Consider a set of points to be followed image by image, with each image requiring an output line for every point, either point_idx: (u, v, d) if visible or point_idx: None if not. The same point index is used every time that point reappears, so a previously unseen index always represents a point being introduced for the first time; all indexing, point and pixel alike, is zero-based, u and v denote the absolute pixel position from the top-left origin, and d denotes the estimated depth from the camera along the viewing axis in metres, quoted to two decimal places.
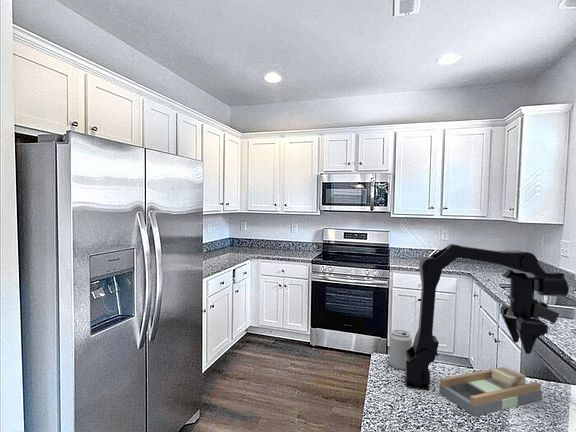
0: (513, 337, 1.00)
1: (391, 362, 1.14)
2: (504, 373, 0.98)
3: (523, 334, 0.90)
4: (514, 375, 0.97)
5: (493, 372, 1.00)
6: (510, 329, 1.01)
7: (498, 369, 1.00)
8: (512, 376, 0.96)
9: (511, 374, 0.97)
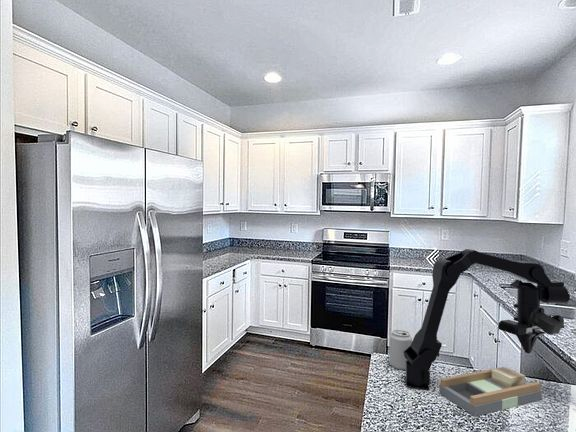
0: None
1: (391, 362, 1.14)
2: (504, 373, 0.98)
3: None
4: (514, 375, 0.97)
5: (493, 372, 1.00)
6: None
7: (498, 369, 1.00)
8: (512, 376, 0.96)
9: (511, 374, 0.97)
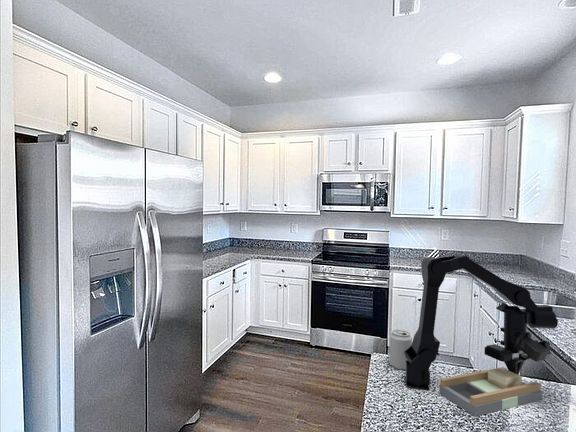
0: None
1: (391, 362, 1.14)
2: (500, 374, 0.97)
3: None
4: (510, 375, 0.96)
5: (489, 373, 0.99)
6: None
7: (495, 370, 1.00)
8: (508, 377, 0.96)
9: (507, 375, 0.96)
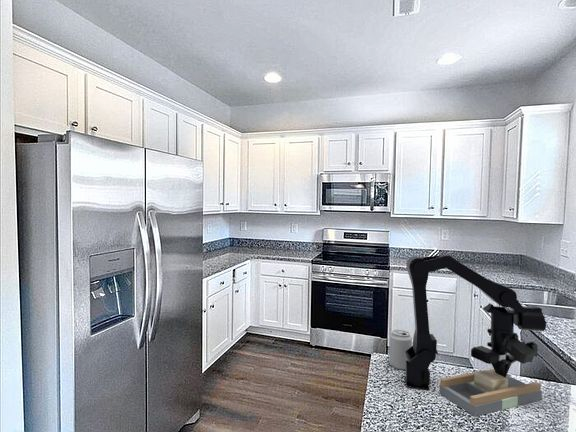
0: (499, 374, 0.98)
1: (391, 362, 1.14)
2: (486, 376, 0.95)
3: None
4: (496, 378, 0.95)
5: (475, 375, 0.98)
6: None
7: (481, 373, 0.98)
8: (494, 379, 0.94)
9: (493, 378, 0.95)
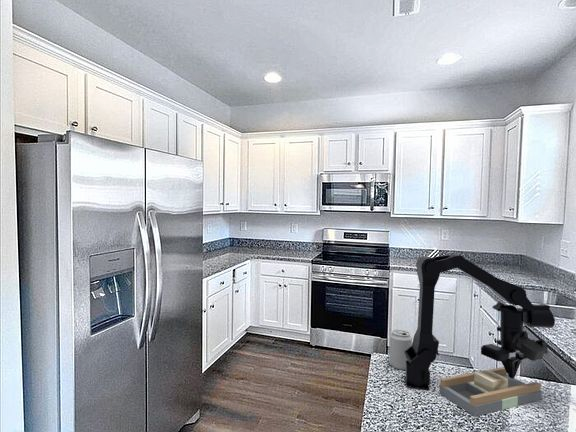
0: None
1: (391, 362, 1.14)
2: (486, 376, 0.95)
3: None
4: (496, 378, 0.95)
5: (475, 375, 0.98)
6: None
7: (481, 373, 0.98)
8: (494, 379, 0.94)
9: (493, 378, 0.95)
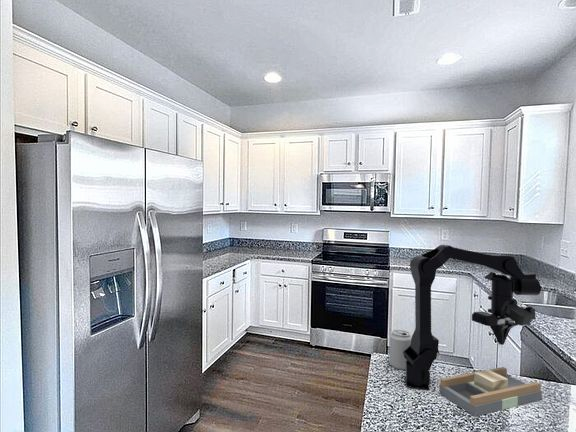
0: None
1: (391, 362, 1.14)
2: (486, 376, 0.95)
3: None
4: (496, 378, 0.95)
5: (475, 375, 0.98)
6: None
7: (481, 373, 0.98)
8: (494, 379, 0.94)
9: (493, 378, 0.95)
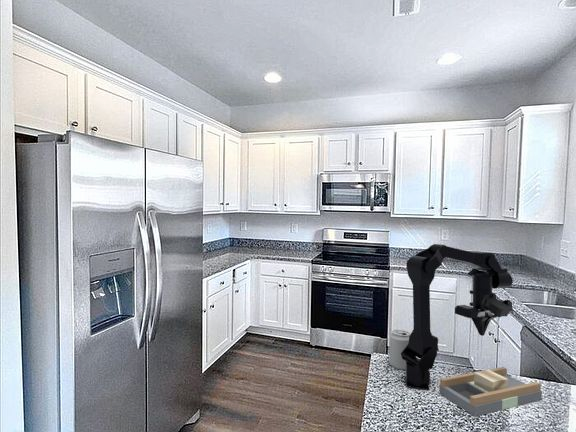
0: None
1: (391, 362, 1.14)
2: (486, 376, 0.95)
3: None
4: (496, 378, 0.95)
5: (475, 375, 0.98)
6: None
7: (481, 373, 0.98)
8: (494, 379, 0.94)
9: (493, 378, 0.95)
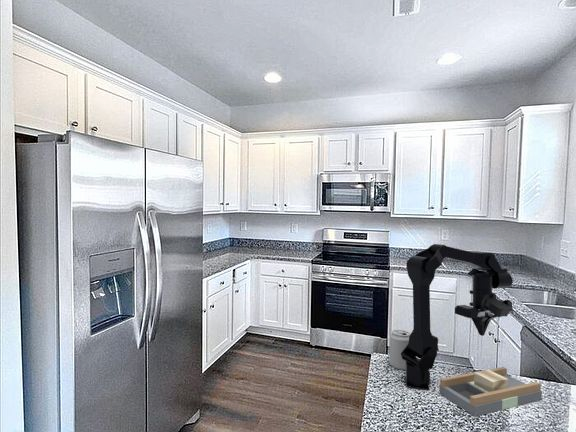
0: None
1: (391, 362, 1.14)
2: (486, 376, 0.95)
3: None
4: (496, 378, 0.95)
5: (475, 375, 0.98)
6: None
7: (481, 373, 0.98)
8: (494, 379, 0.94)
9: (493, 378, 0.95)
